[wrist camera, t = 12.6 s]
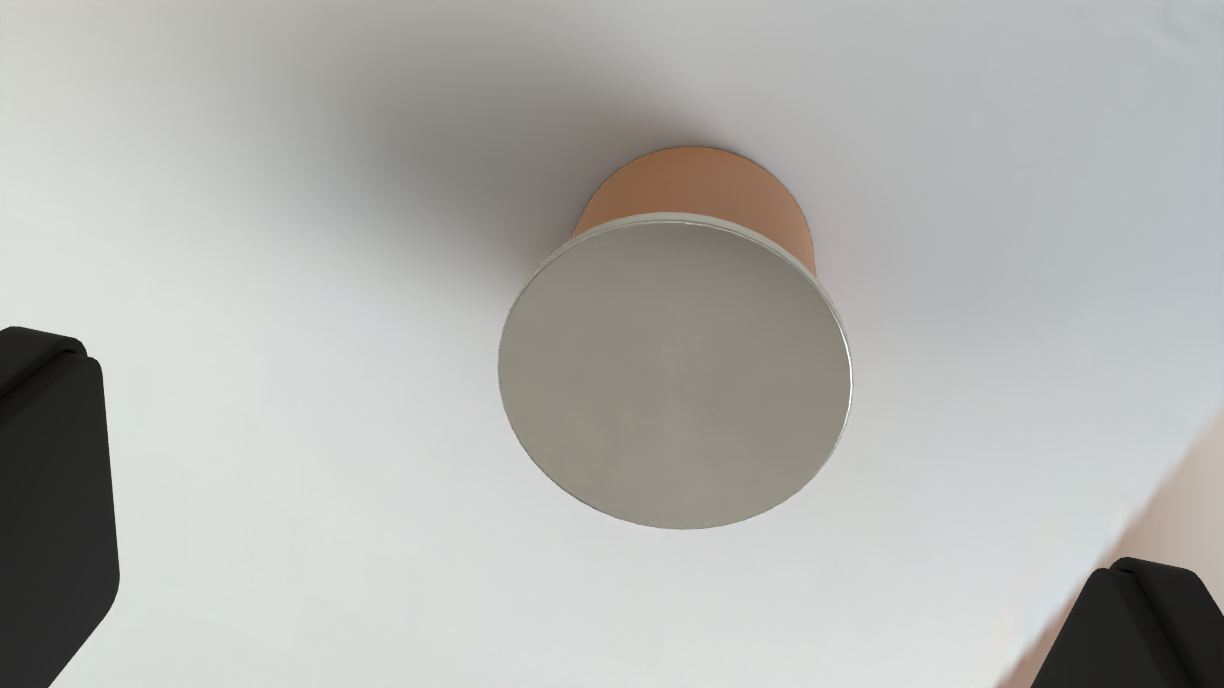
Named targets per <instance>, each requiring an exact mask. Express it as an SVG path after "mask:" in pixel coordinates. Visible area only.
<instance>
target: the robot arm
mask: <svg viewBox="0 0 1224 688" xmlns="http://www.w3.org/2000/svg"><path fill="white" fill-rule="evenodd" d="M119 580H120V572H119V560H118V549H117V537H116V525H115V514H114V502H113V491H112V479H111V468H110V456H109V444H108V433H107V421H106V410H105V398H104V387H103V375H102V370H101V366H100V364H99V363H98V361H97V360H95V359H94V358H92V357H88V356H87V352H86V349H85V347H84V346H83V344H82V342H80V341H79V340H77V339H75V338H72V337H67V336H62V335H58V334H53V333H48V332H43V331H38V330H33V329H29V328H24V327H15V326H10V327H8V328H6V329H3V330H1V331H0V688H48V687H49V686H50V685H51V684H52V682H53V681H54V680H55V679H56V677H57V676H58V675H59V674H60V672H61V671H62V670H63V669H64V667H65V666H66V665H67V664H68V662H69V661H70V660H71V659H72V657H73V656H74V655H75V654H76V652H77V651H78V650H79V649H80V647H81V646H82V645H83V644H84V642H85V641H86V640H87V639H88V637H89V636H90V635H91V634H92V632H93V631H94V630H95V629H96V627H97V626H98V625H99V624H100V622H101V621H102V620H103V619H104V617H105V616H106V614H107V613H108V611H109V610H110V608H111V606H112V604H113V602H114V600H115V597H116V594H117V591H118V587H119ZM1031 688H1224V616H1223V614H1222V613H1221V611H1220V609H1219V608H1218V606H1217V604H1216V603H1215V601H1214V600H1213V599H1212V596H1211V595H1210V593H1209V592H1208V590H1207V588H1206V587H1205V585H1204V584H1203V582H1202V581H1201V580H1200V578H1199V577H1198V576H1197V575H1196V574H1195V573H1194V572H1192V571H1190V570H1188V569H1184V568H1179V567H1175V566H1170V565H1164V564H1160V563H1155V562H1150V561H1146V560H1141V559H1136V558H1131V557H1124V558H1120V559H1119V560H1117V561H1116V562H1114V563H1113V564H1112V566H1111V567H1110V568H1109V569H1106V568H1099V569H1097V570H1095V571H1094V572H1093V573H1092V574H1091V575H1090V577H1089V578H1088V580H1087V582H1086V584H1085V585H1084V587H1083V589H1082V591H1081V593H1080V595H1079V597H1078V599H1077V601H1076V602H1075V604H1074V606H1073V608H1072V610H1071V612H1070V614H1069V616H1068V618H1067V619H1066V621H1065V623H1064V625H1063V627H1062V629H1061V631H1060V633H1059V635H1058V637H1057V639H1056V640H1055V642H1054V644H1053V646H1052V648H1051V650H1050V652H1049V654H1048V655H1047V657H1046V659H1045V661H1044V663H1043V665H1042V667H1041V669H1040V671H1039V673H1038V674H1037V676H1036V678H1035V680H1034V682H1033V684H1032V686H1031Z"/></svg>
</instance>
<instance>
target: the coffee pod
mask: <svg viewBox="0 0 1224 688" xmlns="http://www.w3.org/2000/svg"><path fill="white" fill-rule="evenodd" d="M498 378H499V389H500V393H501V397H502V401H503V406H504V409H505V412H506V414H507V417H508V419H509V422H510V425H511V427H512V429H513V431H514V433H515V434H516V436H517V438H518V440H519V442H520V444H521V445H522V447H523V448H524V449H525V451H526V452H527V453H528V455H529V456H530V458H531V459H532V460H533V462H534V463H535V464H536V465H537V466H538V467H539V468H540V469H541V470H542V471H543V472H544V473H545V474H546V476H548V477H549V478H550V479H551V480H552V481H553V482H555V483H556V484H557V485H558V486H559V487H560V488H562V489H563V490H564V491H566V492H567V493H569V494H570V495H572V496H573V497H575V498H576V499H578V500H579V501H581V502H583V503H585V504H586V505H588V506H590V507H592V508H594V509H596V510H598V511H600V512H603V513H605V514H608V515H610V516H613V517H615V518H618V519H621V520H625V521H628V522H632V523H635V524H639V525H645V526H651V527H656V528H666V529H681V530H682V529H704V528H711V527H717V526H724V525H728V524H731V523H735V522H739V521H743V520H746V519H748V518H751V517H754V516H756V515H759V514H761V513H764V512H766V511H768V510H769V509H771V508H773V507H775V506H777V505H779V504H781V503H782V502H784V501H785V500H787V499H788V498H790V497H791V496H792V495H794V494H795V493H797V492H798V491H799V490H800V489H802V488H803V487H804V486H805V485H806V484H807V483H808V482H809V481H810V480H811V479H812V478H814V476H815V475H816V474H817V473H818V472H819V470H820V469H821V468H822V467H823V466H824V464H825V463H826V462H827V461H828V459H829V458H830V456H831V454H832V453H833V451H834V449H835V448H836V446H837V445H838V443H839V440H840V438H841V436H842V433H843V431H844V429H845V426H846V424H847V420H848V416H849V412H850V408H851V403H852V393H853V368H852V359H851V353H850V349H849V344H848V339H847V334H846V332H845V329H844V326H843V323H842V321H841V318H840V315H839V313H838V311H837V309H836V308H835V306H834V304H833V302H832V300H831V299H830V297H829V295H828V293H827V292H826V291H825V289H824V288H823V287H822V285H821V284H820V283H819V281H818V280H817V278H816V270H815V261H814V252H813V244H812V240H811V235H810V230H809V228H808V225H807V222H806V220H805V217H804V215H803V213H802V211H801V209H800V207H799V206H798V204H797V202H796V201H795V199H794V198H793V197H792V195H791V194H790V193H789V191H788V190H787V189H786V188H785V187H784V186H783V185H782V184H781V183H780V182H779V181H778V180H777V179H776V178H775V177H774V176H773V175H771V174H770V173H769V172H767V171H766V170H765V169H764V168H762V167H760V166H758V165H757V164H755V163H753V162H752V161H750V160H748V159H745V158H743V157H741V156H738V155H736V154H733V153H730V152H726V151H723V150H719V149H713V148H706V147H677V148H669V149H665V150H660V151H656V152H653V153H650V154H647V155H645V156H642V157H640V158H637V159H636V160H634V161H632V162H630V163H628V164H626V165H625V166H623V167H622V168H620V169H619V170H618V171H616V172H615V173H614V174H612V175H611V176H610V177H609V178H608V179H607V180H606V181H605V182H604V183H603V184H602V185H601V186H600V187H599V188H598V190H597V191H596V192H595V194H594V195H593V196H592V197H591V199H590V201H589V203H588V204H587V206H586V208H585V210H584V211H583V214H582V216H581V218H580V220H579V222H578V224H577V226H576V228H575V231H574V233H573V235H572V237H571V239H570V240H569V241H568V242H566V243H565V244H563V245H562V246H561V247H559V248H558V249H557V250H555V251H554V252H552V253H551V254H550V255H549V256H548V257H547V258H546V259H545V260H544V261H543V262H542V263H541V264H540V265H539V266H538V267H537V268H536V269H535V271H534V272H533V273H532V275H531V276H530V277H529V279H528V280H527V281H526V282H525V284H524V285H523V287H522V289H521V291H520V293H519V294H518V296H517V298H516V300H515V302H514V303H513V305H512V307H511V309H510V311H509V314H508V317H507V319H506V322H505V325H504V327H503V331H502V336H501V341H500V345H499V354H498Z"/></svg>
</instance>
